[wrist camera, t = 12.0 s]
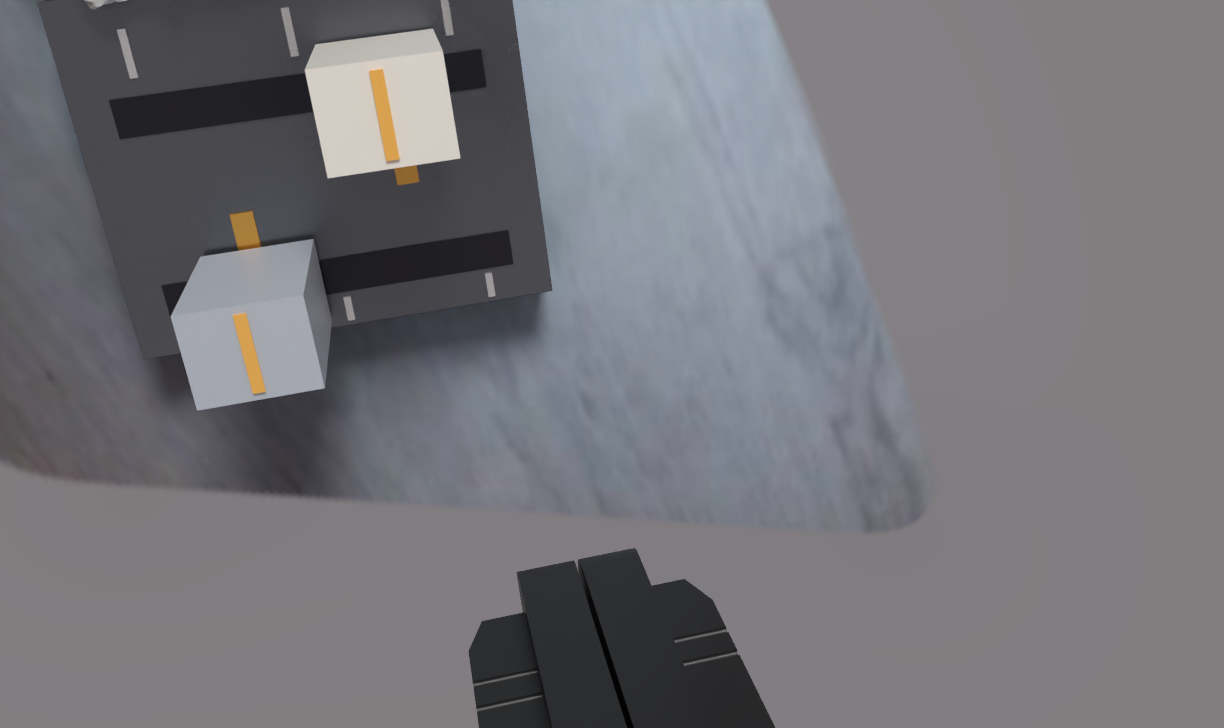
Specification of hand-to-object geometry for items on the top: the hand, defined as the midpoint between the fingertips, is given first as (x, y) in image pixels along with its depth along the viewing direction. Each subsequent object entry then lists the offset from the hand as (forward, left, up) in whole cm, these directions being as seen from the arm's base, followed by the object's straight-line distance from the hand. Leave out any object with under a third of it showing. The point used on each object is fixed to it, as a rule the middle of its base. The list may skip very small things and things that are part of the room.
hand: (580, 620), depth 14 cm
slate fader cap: (+1, -6, -19) cm, 20 cm away
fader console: (-2, -4, -21) cm, 22 cm away
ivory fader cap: (-4, -2, -19) cm, 19 cm away
